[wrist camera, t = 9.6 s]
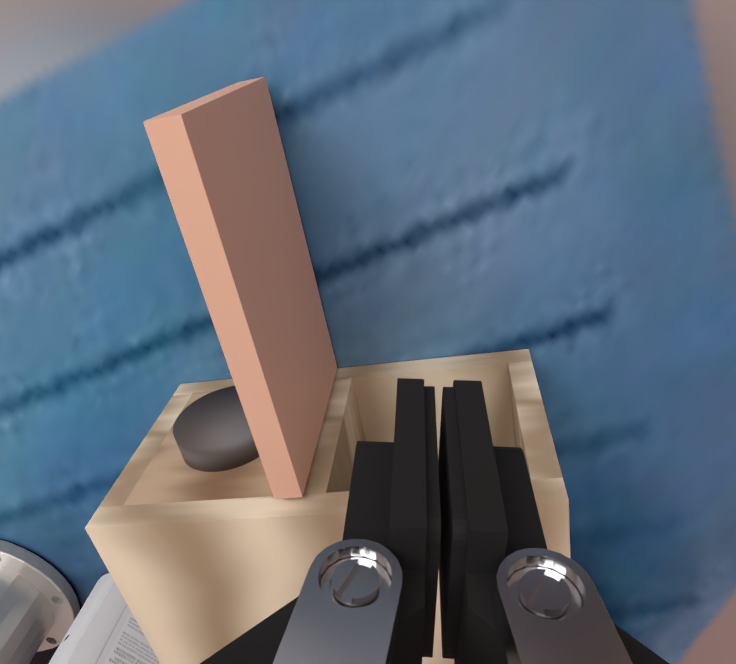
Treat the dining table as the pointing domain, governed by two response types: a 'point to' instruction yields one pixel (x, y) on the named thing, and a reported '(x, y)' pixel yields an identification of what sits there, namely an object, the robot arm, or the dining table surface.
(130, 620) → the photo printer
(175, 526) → the wooden cabinet
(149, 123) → the door
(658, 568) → the dining table surface
